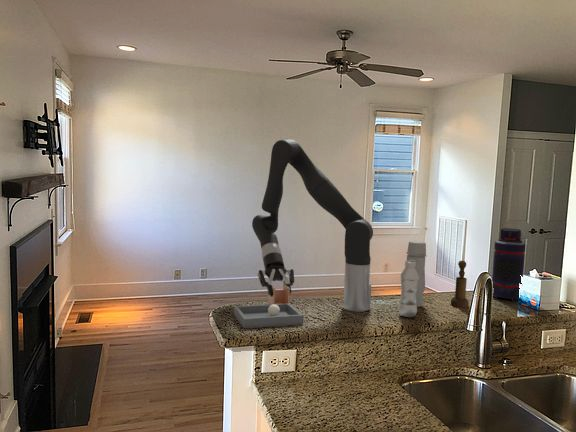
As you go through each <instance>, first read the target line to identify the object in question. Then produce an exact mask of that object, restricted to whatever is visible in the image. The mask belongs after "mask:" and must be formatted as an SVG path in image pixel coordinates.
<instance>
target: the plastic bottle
mask: <svg viewBox="0 0 576 432" xmlns="http://www.w3.org/2000/svg"><path fill="white" fill-rule="evenodd" d="M415 267H416V262H415V261H407V260H405V262H404V268H403V269H402V271H401V273H400V285H401V286H400V289H401V290H400V297H399V298H400V299H399V303H398V308H397V309H398V314H399V315H400V316H401V317H405V318H414V317H416V315H417V312H418V307H417V305H416V291H417V284H418V279H419V275H418V273H417V271H416V270H415Z"/></svg>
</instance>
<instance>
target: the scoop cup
mask: <svg viewBox="0 0 576 432" xmlns="http://www.w3.org/2000/svg"><path fill="white" fill-rule="evenodd" d="M272 289H273V296H272V297H271V296H270V295H269V294H268V304H285V303H289V304H290V297H291V296H290V295H291V294H290V288H289V287H288V286H286V285H285V284H283V283H282V289H276V288H275V287H274V286H273V285H272Z"/></svg>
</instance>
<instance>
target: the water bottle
mask: <svg viewBox="0 0 576 432" xmlns="http://www.w3.org/2000/svg"><path fill="white" fill-rule="evenodd" d="M405 253H406V261H415V262H416V267H415V270H416V271H417V273H418V275H419V279H418V284H417V291H416V305H417V308H420V307H421V308H422V306H423V304H424V303H423V300H424V292H425V291H426V288H425V287H426V269H425V267H426V257H428V255H427V242H425V241H420V240H419V241H418V240H410V241H408V245H407V252H405Z"/></svg>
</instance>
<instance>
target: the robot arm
mask: <svg viewBox="0 0 576 432" xmlns="http://www.w3.org/2000/svg"><path fill="white" fill-rule="evenodd" d="M270 155H271V156H270V162H269V163H270V164H269V172H268V177H267V178H268V180H267V183H266V188H265V191H264V196H263V198H262V199H263V200H262V203H261V209H262V210H263V212H266V213H268V214H269V215H263V214H257V215H255V216H254V217H253V219H252V221H251V227H252V229H253V232H254V235H255V236H256V237H257V240H258V241H259V242H260V247H261V256H262V262H263V267H264V270H261V269H260V270H259V271H258V273H257V277H258V279H259V282H260V285H261V287H262V288H264V287H265V288H266V289H267V293H268V296H269V295H270V296H271V297H272V296H273V289H272V286H273V285H272V282H276V281H277V282H281V284H282V285H283V284H285V285H286V286H288V287H289V288H290V295H291V293H292V286H293V285H294V283H295V273H294V272H295V271H294V269H293V268H292V269H286V268H285V263H284V258H283V255H282V251H281V248H280V244H279V240H278V236H277V235H276V234H275V233H276V232H277V230H278V228H279V209H280V205H281V202H282V198H283V195H284V175H285V173H286V172H285V171H286V169H287V166H288V165H290V166H291V167H292V168H293V169H294V170H296V172H297V173H298V174H299V176H300V177H301V179H302V182H303V185H304V186H305V189H306V191H307V192H308V194H309V195H310V196H311V197H312V199H313V201H315V202H316V203H317V204H318V206H320V207H321V208H322V209H323V210H325V212H327V213H328V214H330V215H331V216H332V217H334V218H335V219H337V220H338V222H339V223H340V224H341V225H342V226H343V228H344V229H345V232H344V259H345V260H344V261H345V262H344V264H345V265H344V281H343V282H344V285H343V301H342V302H343V303H342V308H343V309H344V310H346V311H349V312H361V313H362V312H366V311H370V310H371V302H372V301H371V300H372V299H371V297H372V284H370V277H371V276H370V275H371V274H370V273H371V259H372V257H371V253H370V251H371V250H370V249H371V247H370V246H371V240H372V238H373V236H374V230H373V227H372V224H370V222H368V221H367V220H366V219H365V218H364V217H363V216H361V214H360V213H359V212H358V211H356V209H354V208H353V207H352V206H351V204H350V203H349V202H348V200H347V199H346V198H345V196H344V195H343V194H342V193H341V192H340V190H339V189H338V188H337V187H336V185H335V184H334V183H333V182H332V181H331V180H330V179H329V178H328V177H327V176H326V175H325V173H324V172H323V171H322V170H320V169H319V168H320V167H318V166H317V165H316V164H315V163H314V162H313V160H311V158H310V157H309V156H308V154H307V153H306V151H305V150H304V149H303V147H302V146H301V145H300V144H299V143H298V141H296V140H294V139H292V138H286V139H279V140H277V141H275V143H274V144H273V146H272V147H271V154H270ZM265 276H266V277H267V278H268V281H267V279H266V278H265Z"/></svg>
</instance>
